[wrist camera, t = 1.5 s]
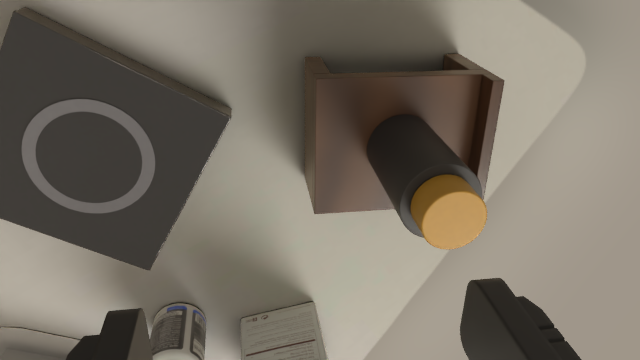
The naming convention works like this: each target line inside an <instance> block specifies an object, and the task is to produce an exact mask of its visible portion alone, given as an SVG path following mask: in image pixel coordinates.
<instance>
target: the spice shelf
mask: <svg viewBox="0 0 640 360" xmlns="http://www.w3.org/2000/svg"><path fill="white" fill-rule="evenodd" d="M503 86H504V80H503V79H501V78H499V77H498V76H496V75H494V74H492V73H491V72H489V71H487V70H485V69H484V68H482V67H480V66H479V65H477V64H475V63H474V62H472V61H470V60H469V59H467V58H465V57H463V56H462V55H460V54H445V56H444V64H443V71H409V72H371V73H333V74H331V73H330V72H329V70H328V68H327V67H326V65H325V64H324V62H323V60H322V59H321V57H305V180H306V183H307V187H308V191H309V195H310V198H311V202H312V206H313V210H314V213H315V214H324V213H340V212H355V211H371V210H387V209H395V208H394V206H393V204H392V202H391V200H390V199H389V197H388V195H387V193H386V191H385V190H384V188H383V186H382V184H381V182H380V181H379V179H378V177H377V175H376V173H375V172H374V170H373V168H372V166H371V164H370V162H369V160H368V156H367V145H368V141H369V138H370V136H371V134H372V133H373V131H374V130H375V128H376V127H377V126H378V125H379V124H381V123H382V122H383V121H385V120H386V119H388V118H390V117H393V116H396V115H404V114H407V115H413V116H416V117H419V118H421V119H422V120H424V121H425V122H426V123H427V124H428V125H429V126H430V127H431V128H432V129H433V130H434V131H435V133H436V134H437V135H438V136H439V137H440V138H441V139H442V140H443V141H444V142H445V143H446V144H447V145H448V146H449V147H450V148H451V149H452V150H453V152H454V153H455V154H456V155H457V156H458V157H459V158H460V159H461V160H462V161H463V162H464V163H465V164H466V165H467V166H468V167H469V168H470V170H471V171H472V172H473V173H474V174H475V175H476V176H477V178H478V179H479V181H480V184H481V188H482V200H483V199H484V193H485V187H486V182H487V176H488V171H489V165H490V159H491V154H492V148H493V143H494V137H495V131H496V126H497V120H498V114H499V109H500V103H501V98H502V92H503Z"/></svg>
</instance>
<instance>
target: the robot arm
mask: <svg viewBox="0 0 640 360" xmlns="http://www.w3.org/2000/svg"><path fill="white" fill-rule="evenodd" d="M460 335H461V341H462V345H463V348H464V351H465V353H466V355H467V356H468V358H469V360H581V359H580V357H579V356H578V355H577V354H576V352H575V351H574V350H573V348H572V347H571V346H570V345H569V344H568V342H567V341H565V340H564V337H563V336H562V334H561V333H560V332H559V331H558V329H557V328H554V324H553V323H552V322H551V321H550V319H549V318H548V317H547V315H546V314H545V313H544V312H543V310H542V309H540V308H539V307H538V306H536V305H535V304H534V303H532V302H531V301H529V300H528V299H526V298H525V297H524V296H522V297H515V295H514V294H513V292H512V291H511V290H510V289H509V287H508V286H507V284H506V283H505V282H504V281H503V280H502V279H501V278H492V279H481V280H471V281H470V282H469V283H468V286H467V291H466V296H465V302H464V308H463V314H462V319H461V326H460ZM66 360H153V356H152V350H151V345H150V339H149V334H148V329H147V324H146V318H145V313H144V311H143V309H142V308H139V309H128V310H116V311H109V312H108V313H107V315H106V318H105V321H104V324H103V327H102V330H101V333H100V335H92V336H84V337H83V338H82V339H81V340H80V341H79V342H78V344H77V345H76V346H75V347H74V348H73V349H72V350H71V351H70V352H69V354H68V355H67V358H66Z"/></svg>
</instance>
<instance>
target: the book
mask: <svg viewBox="0 0 640 360" xmlns="http://www.w3.org/2000/svg"><path fill="white" fill-rule="evenodd" d="M79 341H80V340H78V339H73V338H68V337H63V336H58V335H53V334H48V333H43V332H39V331H34V330H29V329H24V328H11V327H0V360H66V358H67V355H68V354H69V352H70V351H71V350H72V349H73V348H74V347H75V346H76V345H77V344H78V342H79Z"/></svg>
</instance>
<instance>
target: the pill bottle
mask: <svg viewBox="0 0 640 360" xmlns="http://www.w3.org/2000/svg"><path fill="white" fill-rule="evenodd" d="M205 338H206V319H205V316H204V314H203V313H202V312H201V311H200V310H199V309H198V308H196V307H194V306H192V305H188V304H183V303H176V304H171V305H169V306H166V307H164V308H163V309H161V310H160V311H159V312H158V314H157V315H156V317H155V319H154V322H153V327H152V332H151V337H150V345H151V350H152V356H153V360H204V354H205Z"/></svg>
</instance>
